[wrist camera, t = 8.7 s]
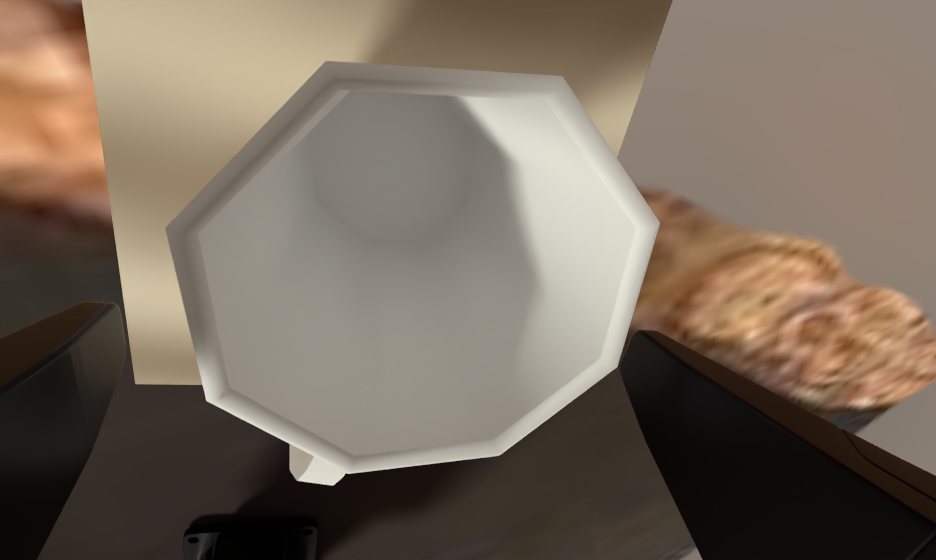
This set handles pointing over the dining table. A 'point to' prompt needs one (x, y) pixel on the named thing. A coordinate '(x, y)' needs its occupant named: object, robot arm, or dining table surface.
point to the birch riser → (277, 79)
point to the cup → (411, 266)
